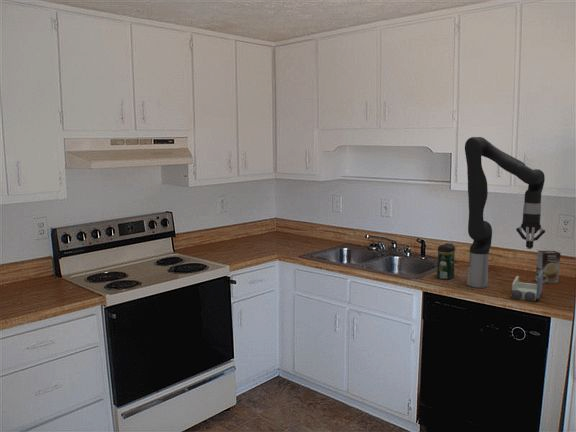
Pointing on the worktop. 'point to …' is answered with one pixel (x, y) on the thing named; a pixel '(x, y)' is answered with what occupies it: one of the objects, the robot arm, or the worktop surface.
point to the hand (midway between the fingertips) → (529, 248)
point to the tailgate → (539, 284)
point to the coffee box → (548, 266)
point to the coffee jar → (446, 261)
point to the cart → (523, 290)
